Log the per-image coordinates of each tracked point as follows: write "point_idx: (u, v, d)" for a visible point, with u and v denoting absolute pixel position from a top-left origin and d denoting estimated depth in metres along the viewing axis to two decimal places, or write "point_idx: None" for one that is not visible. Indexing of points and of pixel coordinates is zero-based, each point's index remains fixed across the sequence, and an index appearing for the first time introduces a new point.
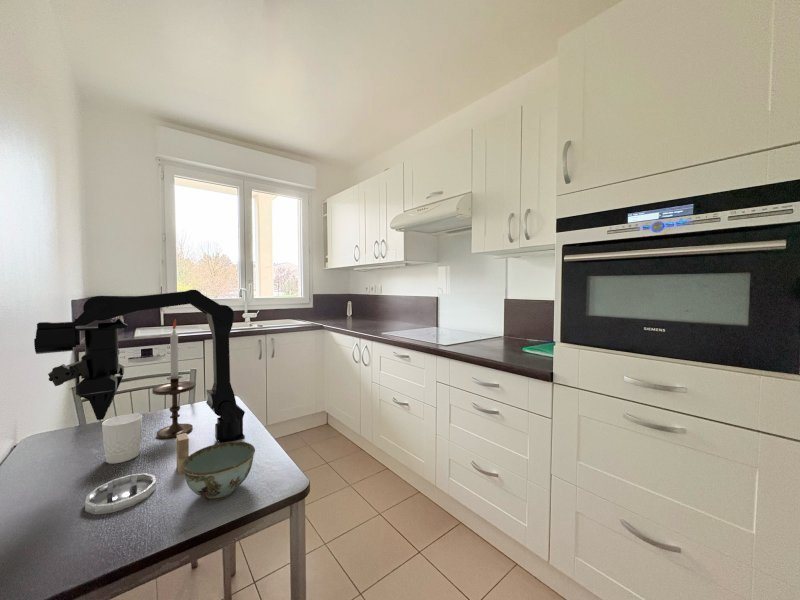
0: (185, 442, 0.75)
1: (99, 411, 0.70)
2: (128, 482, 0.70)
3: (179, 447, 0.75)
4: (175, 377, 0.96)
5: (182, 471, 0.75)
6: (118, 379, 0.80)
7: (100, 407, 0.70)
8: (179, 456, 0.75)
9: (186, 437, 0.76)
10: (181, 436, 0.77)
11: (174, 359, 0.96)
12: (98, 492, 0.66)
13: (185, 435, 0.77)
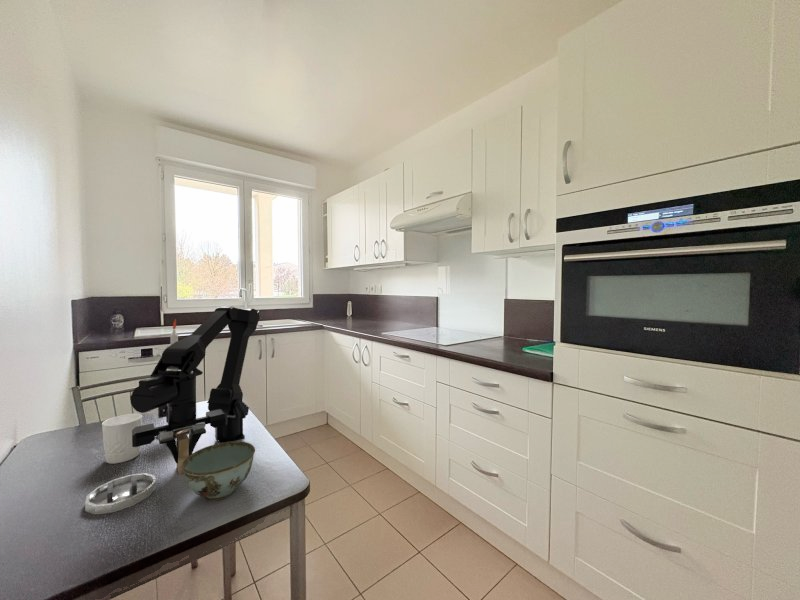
0: (185, 442, 0.75)
1: None
2: (128, 482, 0.70)
3: (179, 447, 0.75)
4: None
5: (182, 471, 0.75)
6: (192, 435, 0.76)
7: None
8: (179, 456, 0.75)
9: (186, 437, 0.76)
10: (181, 436, 0.77)
11: None
12: (98, 492, 0.66)
13: (185, 435, 0.77)
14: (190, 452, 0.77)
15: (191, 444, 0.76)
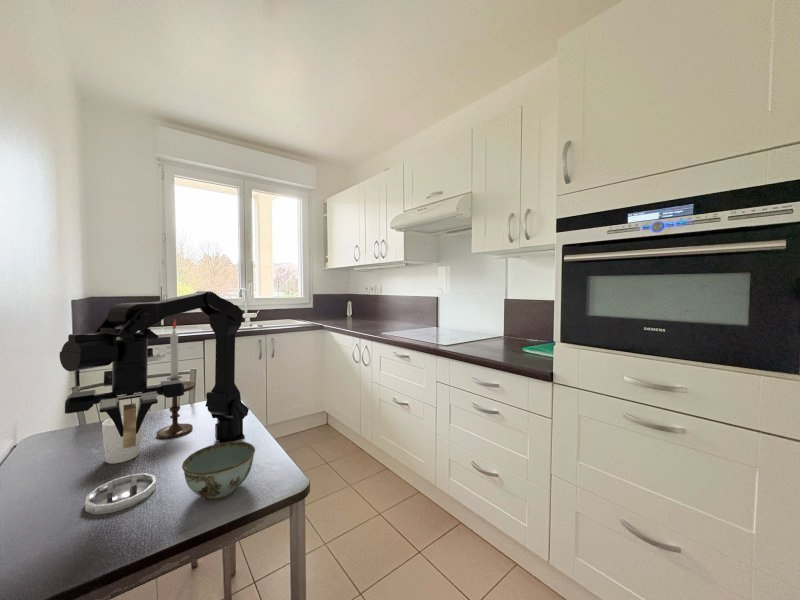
0: (131, 412, 0.66)
1: None
2: (128, 482, 0.70)
3: (124, 417, 0.65)
4: (175, 377, 0.96)
5: (127, 445, 0.65)
6: (140, 404, 0.67)
7: None
8: (124, 428, 0.65)
9: (134, 407, 0.67)
10: (128, 406, 0.67)
11: (174, 359, 0.96)
12: (98, 492, 0.66)
13: (133, 405, 0.68)
14: (138, 425, 0.67)
15: (139, 415, 0.67)
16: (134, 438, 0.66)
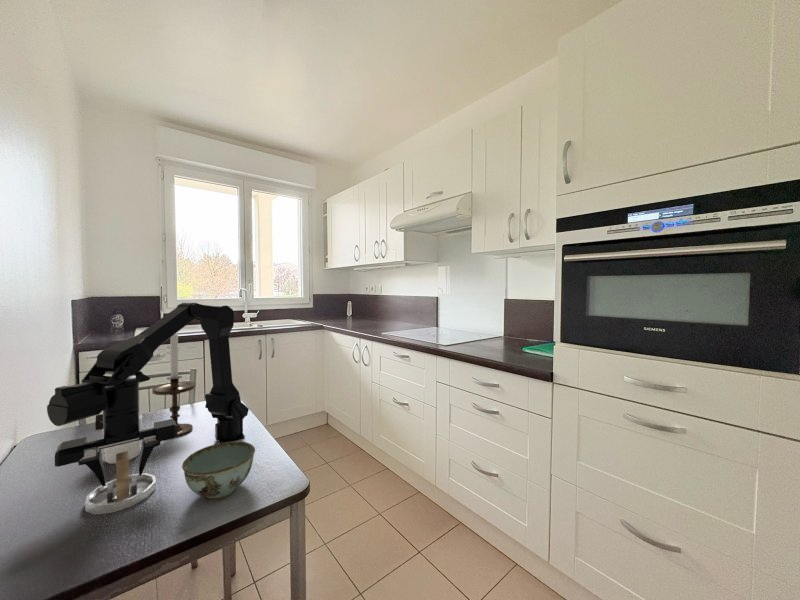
0: (124, 462, 0.65)
1: None
2: None
3: (117, 469, 0.64)
4: (175, 377, 0.96)
5: (121, 496, 0.65)
6: (143, 447, 0.67)
7: None
8: (117, 479, 0.64)
9: (126, 456, 0.66)
10: (121, 455, 0.66)
11: (174, 359, 0.96)
12: (98, 492, 0.66)
13: (126, 454, 0.67)
14: (141, 467, 0.67)
15: (142, 458, 0.67)
16: (127, 488, 0.65)
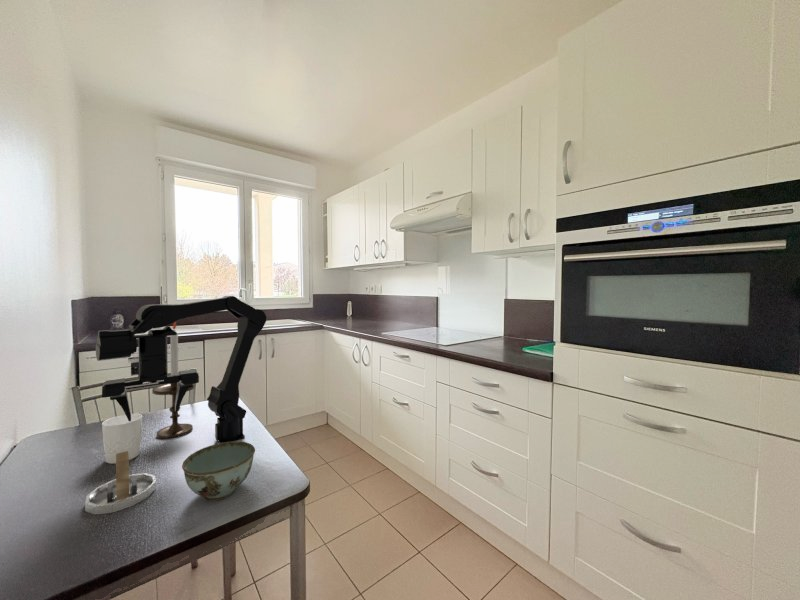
0: (124, 462, 0.65)
1: None
2: None
3: (117, 469, 0.64)
4: None
5: (121, 496, 0.65)
6: (179, 388, 0.81)
7: None
8: (117, 479, 0.64)
9: (126, 457, 0.66)
10: (121, 455, 0.66)
11: (174, 359, 0.96)
12: (98, 492, 0.66)
13: (126, 454, 0.67)
14: (178, 404, 0.81)
15: (178, 396, 0.81)
16: (127, 488, 0.65)
